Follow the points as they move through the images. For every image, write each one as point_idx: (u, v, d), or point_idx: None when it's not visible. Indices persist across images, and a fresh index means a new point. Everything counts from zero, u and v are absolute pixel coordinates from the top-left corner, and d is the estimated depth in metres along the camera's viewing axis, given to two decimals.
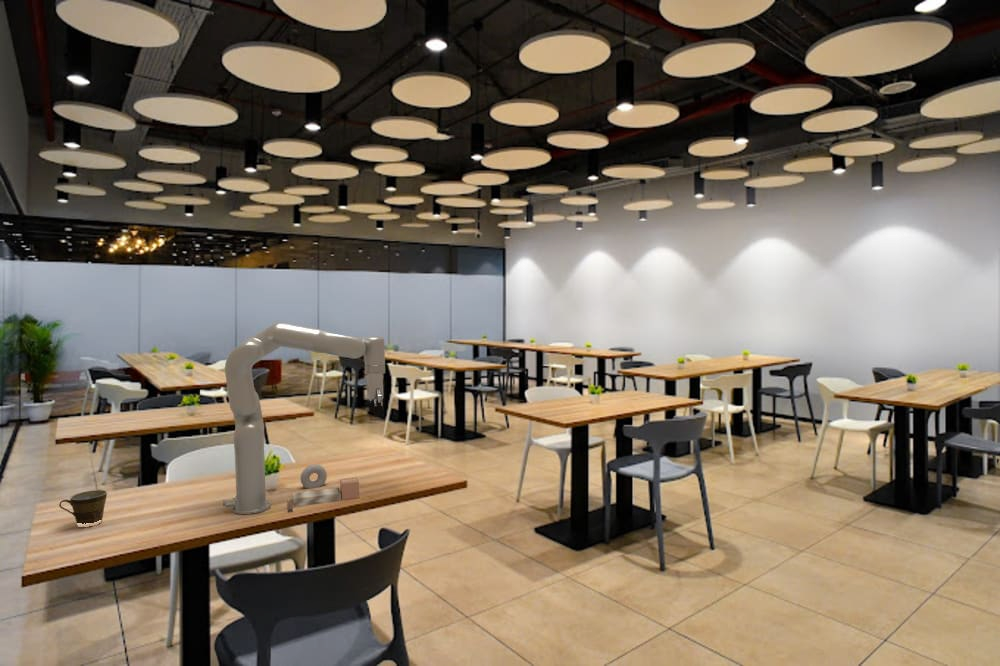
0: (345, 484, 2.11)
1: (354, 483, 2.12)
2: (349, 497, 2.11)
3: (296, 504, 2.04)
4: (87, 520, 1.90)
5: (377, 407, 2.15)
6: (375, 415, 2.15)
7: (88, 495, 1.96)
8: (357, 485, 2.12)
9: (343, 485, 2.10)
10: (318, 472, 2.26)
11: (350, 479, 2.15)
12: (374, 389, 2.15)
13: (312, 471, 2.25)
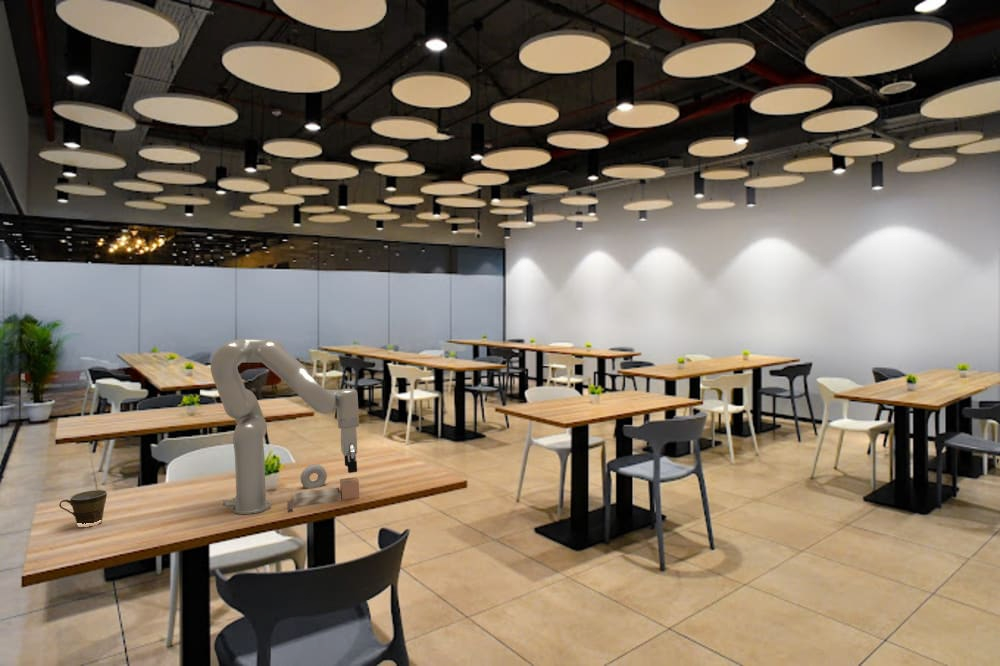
0: (345, 484, 2.11)
1: (354, 483, 2.12)
2: (349, 497, 2.11)
3: (296, 504, 2.04)
4: (87, 520, 1.90)
5: (351, 463, 2.08)
6: (349, 471, 2.09)
7: (88, 495, 1.96)
8: (357, 485, 2.12)
9: (343, 485, 2.10)
10: (318, 472, 2.26)
11: (350, 479, 2.15)
12: (347, 444, 2.08)
13: (312, 471, 2.25)
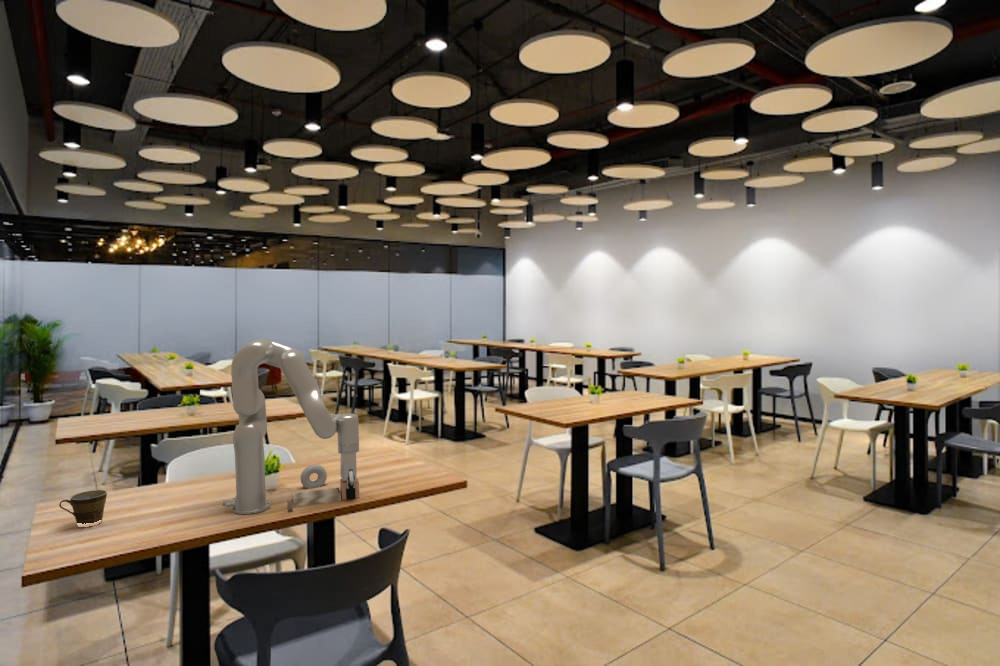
0: (345, 484, 2.11)
1: None
2: None
3: (296, 504, 2.04)
4: (87, 520, 1.90)
5: (349, 489, 2.10)
6: (347, 497, 2.10)
7: (88, 495, 1.96)
8: (357, 485, 2.12)
9: (343, 485, 2.10)
10: (318, 472, 2.26)
11: None
12: (347, 470, 2.09)
13: (312, 471, 2.25)
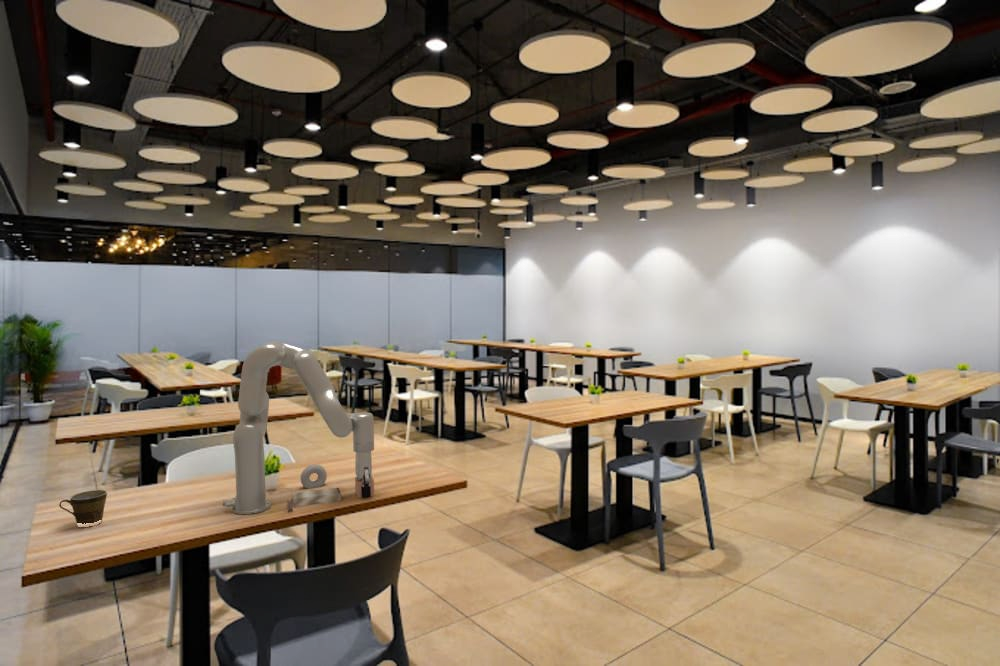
0: (360, 482, 2.12)
1: None
2: None
3: (296, 504, 2.04)
4: (87, 520, 1.90)
5: (365, 488, 2.12)
6: (362, 496, 2.12)
7: (88, 495, 1.96)
8: (372, 483, 2.14)
9: (358, 483, 2.12)
10: (318, 472, 2.26)
11: None
12: (362, 468, 2.11)
13: (312, 471, 2.25)
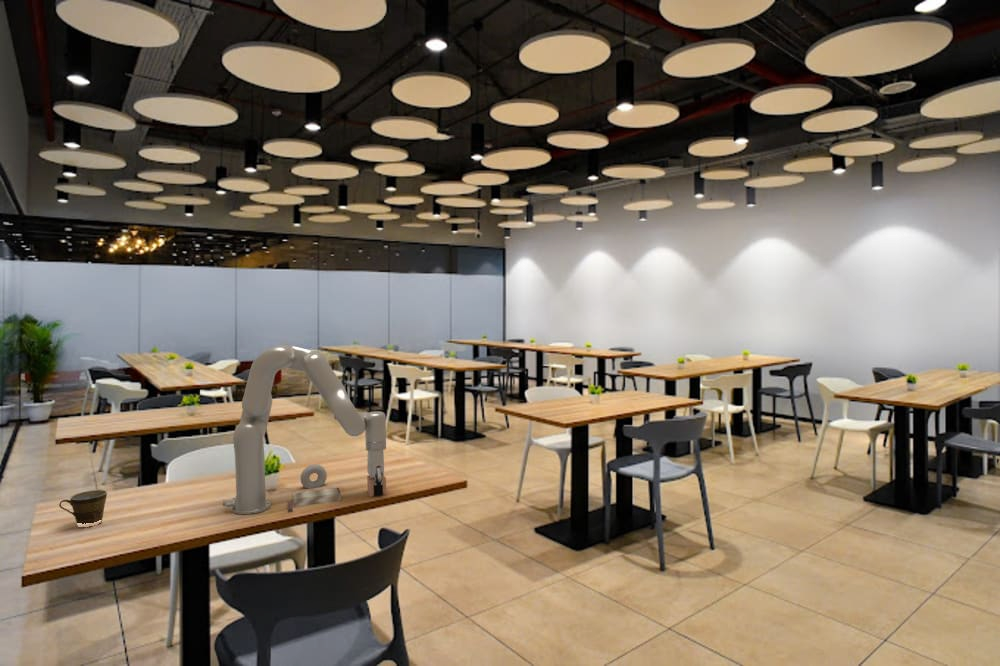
0: (373, 481, 2.14)
1: None
2: None
3: (296, 504, 2.04)
4: (87, 520, 1.90)
5: (377, 486, 2.13)
6: (375, 494, 2.14)
7: (88, 495, 1.96)
8: (384, 482, 2.16)
9: (371, 482, 2.14)
10: (318, 472, 2.26)
11: None
12: (375, 467, 2.12)
13: (312, 471, 2.25)
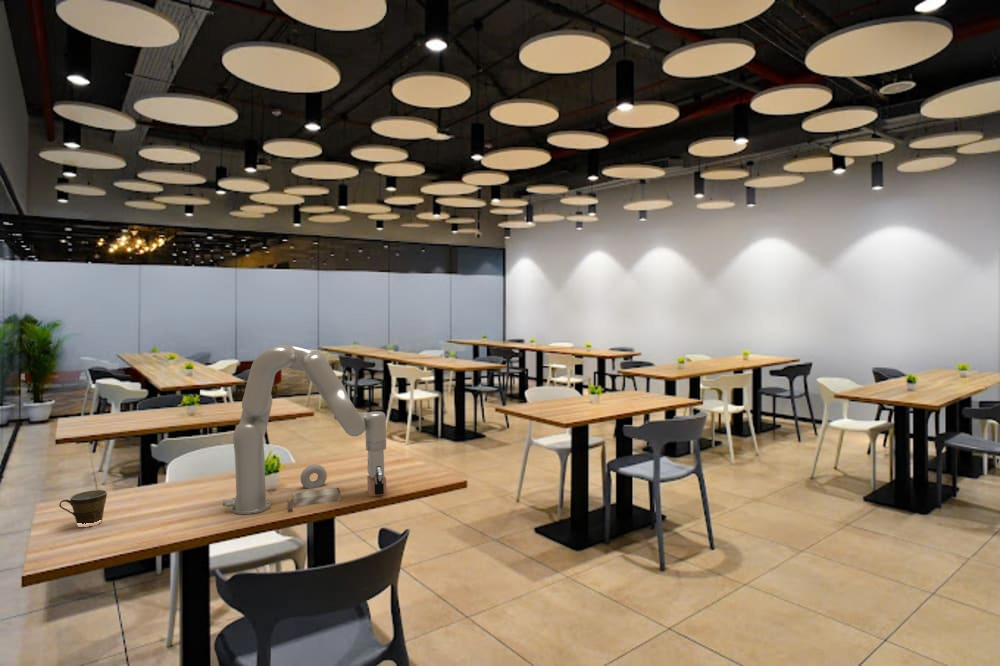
0: (373, 481, 2.14)
1: None
2: None
3: (296, 504, 2.04)
4: (87, 520, 1.90)
5: (378, 485, 2.12)
6: (376, 493, 2.13)
7: (88, 495, 1.96)
8: (384, 482, 2.16)
9: (371, 482, 2.14)
10: (318, 472, 2.26)
11: None
12: (375, 467, 2.12)
13: (312, 471, 2.25)
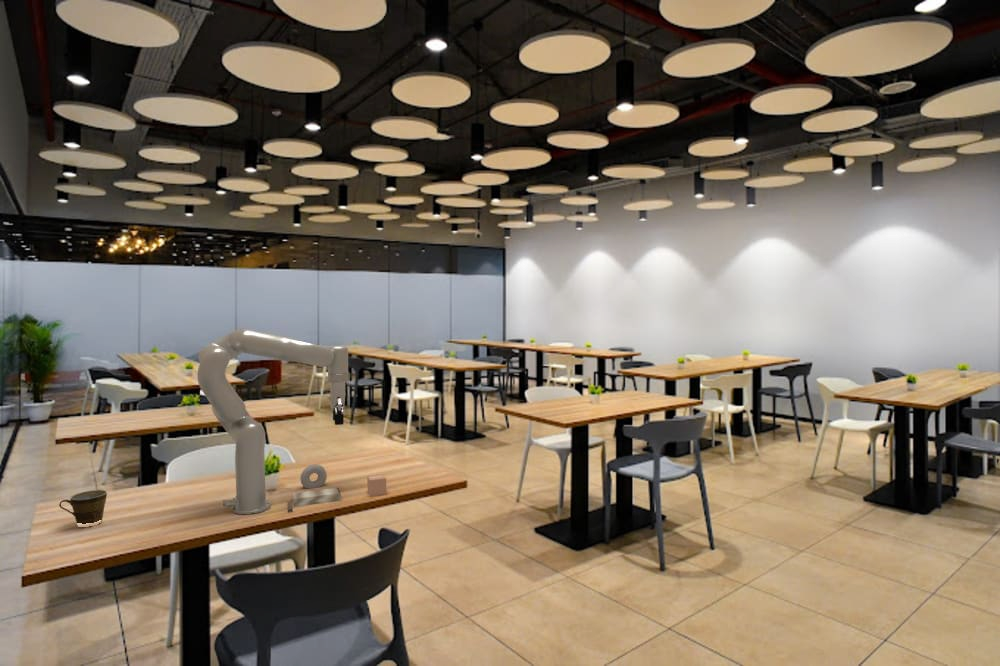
0: (373, 481, 2.14)
1: (382, 480, 2.15)
2: (377, 493, 2.15)
3: (296, 504, 2.04)
4: (87, 520, 1.90)
5: (338, 415, 2.18)
6: (335, 423, 2.18)
7: (88, 495, 1.96)
8: (384, 482, 2.16)
9: (371, 482, 2.14)
10: (318, 472, 2.26)
11: (377, 476, 2.19)
12: (335, 397, 2.18)
13: (312, 471, 2.25)
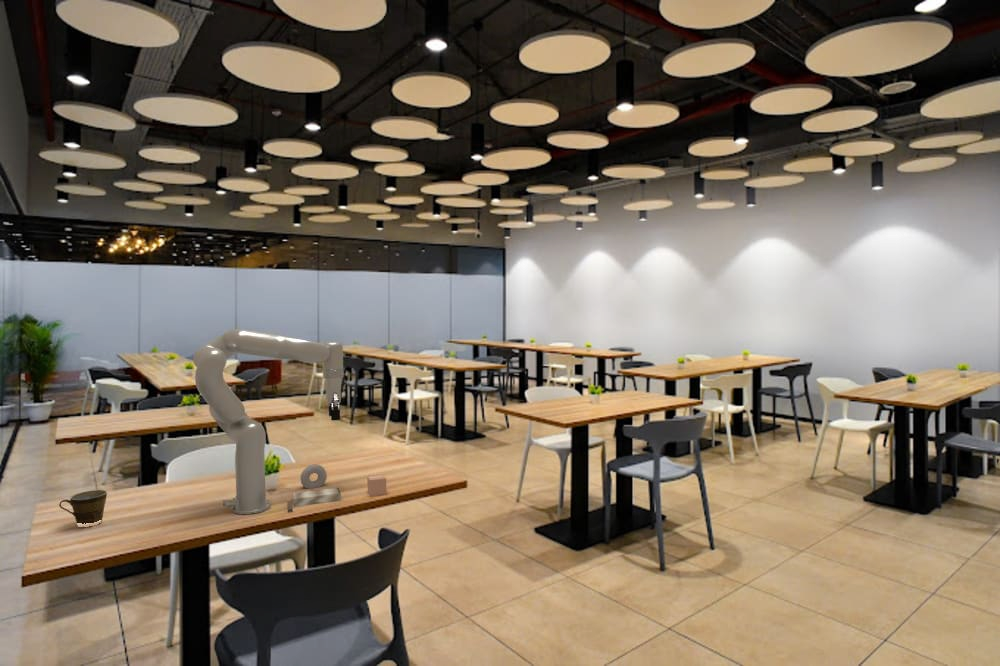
0: (373, 481, 2.14)
1: (382, 480, 2.15)
2: (377, 493, 2.15)
3: (296, 504, 2.04)
4: (87, 520, 1.90)
5: (334, 411, 2.19)
6: (332, 419, 2.20)
7: (88, 495, 1.96)
8: (384, 482, 2.16)
9: (371, 482, 2.14)
10: (318, 472, 2.26)
11: (377, 476, 2.19)
12: (331, 393, 2.19)
13: (312, 471, 2.25)
